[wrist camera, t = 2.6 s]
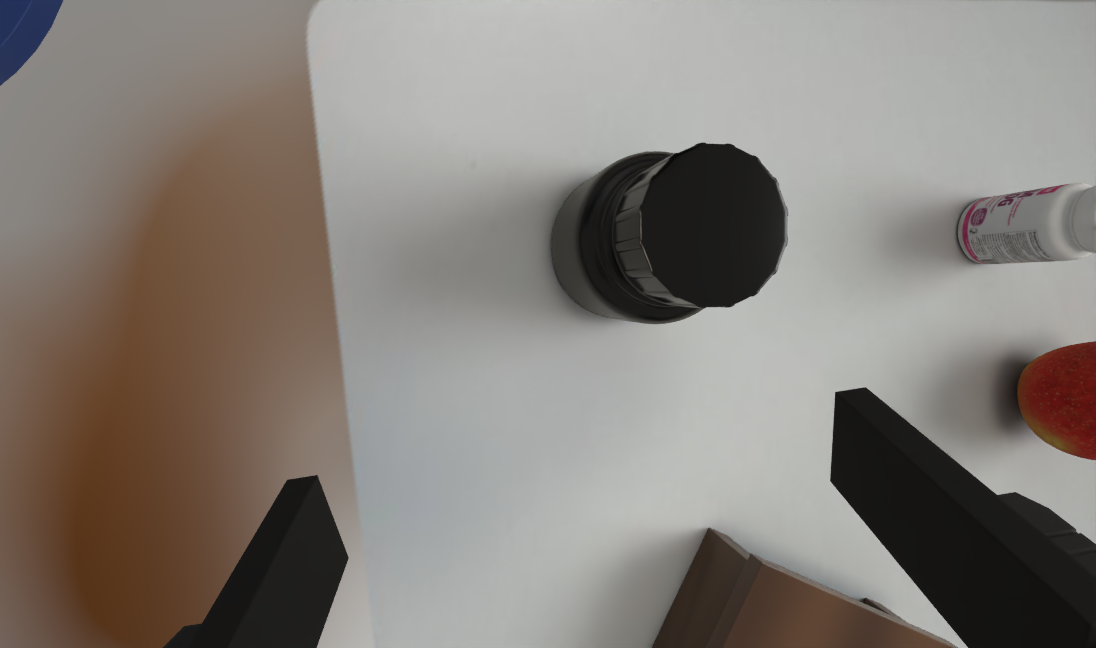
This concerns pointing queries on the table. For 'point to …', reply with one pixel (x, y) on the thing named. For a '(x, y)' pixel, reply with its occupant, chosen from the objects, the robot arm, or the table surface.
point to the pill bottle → (1031, 226)
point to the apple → (1062, 398)
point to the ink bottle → (670, 234)
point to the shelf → (774, 608)
